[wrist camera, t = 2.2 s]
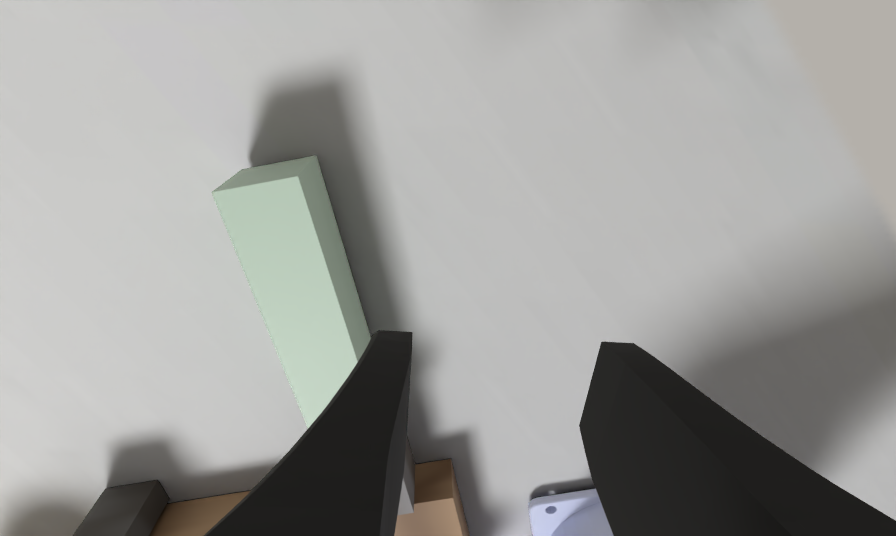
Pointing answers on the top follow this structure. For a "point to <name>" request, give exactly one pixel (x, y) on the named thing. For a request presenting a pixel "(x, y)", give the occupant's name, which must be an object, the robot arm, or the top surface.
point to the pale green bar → (297, 274)
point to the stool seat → (185, 523)
